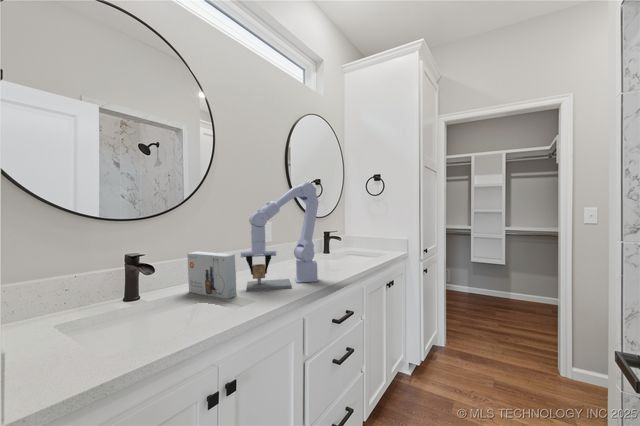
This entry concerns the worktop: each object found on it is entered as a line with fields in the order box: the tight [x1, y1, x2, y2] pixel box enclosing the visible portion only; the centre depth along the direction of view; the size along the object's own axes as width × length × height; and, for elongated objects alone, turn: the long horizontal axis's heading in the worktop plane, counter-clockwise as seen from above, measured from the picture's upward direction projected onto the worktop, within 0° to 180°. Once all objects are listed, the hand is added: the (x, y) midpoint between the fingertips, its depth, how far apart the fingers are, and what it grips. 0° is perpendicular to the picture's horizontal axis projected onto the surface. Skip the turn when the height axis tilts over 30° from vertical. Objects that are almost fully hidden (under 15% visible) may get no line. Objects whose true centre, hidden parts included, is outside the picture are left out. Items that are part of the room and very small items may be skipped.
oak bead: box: [252, 263, 266, 280], centre depth 122 cm, size 5×5×5 cm
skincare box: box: [186, 251, 238, 300], centre depth 113 cm, size 21×5×16 cm, turn 62°
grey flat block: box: [245, 278, 293, 293], centre depth 123 cm, size 18×12×7 cm, turn 101°
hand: (259, 273), depth 122 cm, fingers closed on oak bead, 5 cm apart
